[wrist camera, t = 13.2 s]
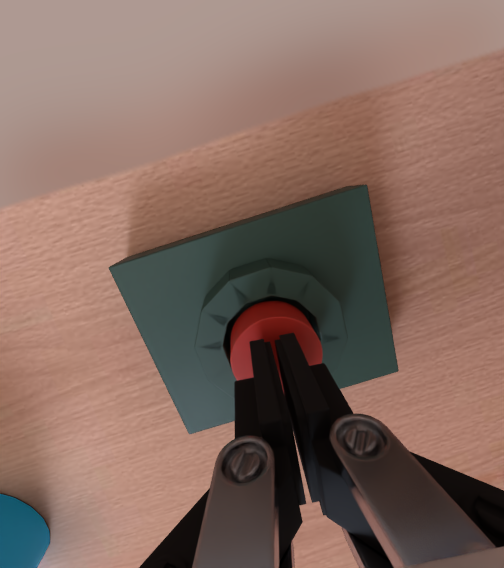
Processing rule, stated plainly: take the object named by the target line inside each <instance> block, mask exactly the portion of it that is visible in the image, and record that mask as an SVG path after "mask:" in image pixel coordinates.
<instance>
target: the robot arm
mask: <svg viewBox="0 0 504 568" xmlns="http://www.w3.org/2000/svg"><path fill="white" fill-rule="evenodd" d="M279 338H280V339H278V340H275V346H276V352H277V357H278V363H279V368H280V373H281V379H282V384H283V388H282V384H281V380H280V377H279V373H278V369H277V365H276V362H275V358H274V354H273V350H272V347H271V343H270V341H269V342H264V339H259V340H254V341H249V343H250V351H251V360H252V368H253V376H254V377H252V378H248V379H243V380H238V381H235V382H234V398H235V439H234V440H232V441H231V442H229V443H228V444H227V445H226V446H224V448H223V449H222V450H221V452H220V453H219V455H218V457H217V460H216V463H215V467H214V472H213V476H212V481H211V485H210V488H209V490H208V491H207V492H206V493H205V494H204V495H203V496H202V497H201V499H200V500H199V501H198V502H197V503H196V504H195V505H194V506H193V508H192V509H191V510H190V511H189V512H188V513H187V514H186V515H185V517H184V518H183V519H182V520H181V521H180V522H179V523H178V524H177V526H176V527H175V528H174V529H173V530H172V531H171V532H170V533H169V535H168V536H167V537H166V538H165V539H164V540H163V541H162V542H161V544H160V545H159V546H158V547H157V548H156V549H155V550H154V551H153V552H152V554H151V555H150V556H149V557H148V558H147V559H146V560H145V561H144V563H143V564H142V565H141V566H140V567H139V568H295V561H294V547H293V541H292V540H293V538H294V536H295V534H296V533H297V531H298V529H299V527H300V526H301V524H302V517H301V512H300V507H299V505H303V504H306V500H305V494H304V489H303V483H302V478H301V473H300V467H299V462H298V456H297V451H296V445H295V440H296V443H297V447H298V451H299V455H300V459H301V462H302V466H303V470H304V474H305V478H306V481H307V485H308V489H309V493H310V496H311V500H312V503H313V502H317V501H319V502H320V505H321V509H322V512H323V515H327V517H328V518H329V519H331V520H332V521H334V522H335V523H337V524H338V525H340V526H341V527H342V530H343V533H344V536H345V539H346V541H347V543H348V545H349V547H350V550H351V552H352V554H353V556H354V558H355V560H356V562H357V564H358V566H359V568H504V491H503V490H501V489H499V488H496V487H494V486H491V485H489V484H487V483H484V482H482V481H479V480H477V479H475V478H472V477H470V476H467V475H465V474H463V473H460V472H458V471H455V470H453V469H450V468H448V467H446V466H443V465H441V464H438V463H436V462H434V461H431V460H429V459H426V458H424V457H422V456H419V455H417V454H414V453H412V452H409V451H408V450H407V448H406V447H405V446H404V445H403V444H402V443H401V442H400V441H399V440H398V439H397V437H396V436H395V435H394V434H393V433H392V432H391V431H390V430H389V429H388V428H387V426H385V425H384V424H383V423H382V422H381V421H379V420H377V419H375V418H373V417H371V416H368V415H364V414H353V412H352V410H351V408H350V407H349V405H348V403H347V401H346V400H345V398H344V396H343V394H342V393H341V391H340V389H339V387H338V386H337V384H336V382H335V380H334V379H333V377H332V375H331V373H330V372H329V370H328V368H327V366H326V365H325V363H321V364H316V365H311V366H309V364H308V362H307V360H306V357H305V355H304V353H303V351H302V349H301V347H300V345H299V342H298V340H297V338H296V336H295V334H294V332H293V333H288V334H283V335H279ZM283 390H284V392H283ZM292 428H293V429H292ZM293 432H294V434H293ZM294 436H295V440H294Z"/></svg>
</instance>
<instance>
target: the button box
mask: <svg viewBox="0 0 504 568" xmlns="http://www.w3.org/2000/svg"><path fill="white" fill-rule="evenodd" d="M109 270H110V272H111V274H112V276H113V278H114V280H115V282H116V284H117V286H118V288H119V290H120V292H121V295H122V297H123V299H124V301H125V303H126V305H127V307H128V309H129V311H130V313H131V315H132V317H133V319H134V321H135V323H136V326H137V328H138V330H139V332H140V334H141V336H142V338H143V340H144V342H145V344H146V346H147V348H148V350H149V352H150V354H151V356H152V359H153V361H154V363H155V365H156V367H157V369H158V371H159V373H160V375H161V377H162V379H163V381H164V383H165V385H166V387H167V390H168V392H169V394H170V396H171V398H172V400H173V402H174V404H175V406H176V408H177V410H178V412H179V414H180V416H181V418H182V421H183V423H184V425H185V427H186V429H187V431H188V433H189V434H192V433H196V432H199V431H202V430H205V429H209V428H212V427H215V426H219V425H222V424H225V423H229V422H232V421H235V398H234V382H235V381H237V379H236V378H235V376H234V374H233V372H232V368H231V363H230V353H231V332H232V328H233V326H234V324H235V322H236V320H237V319H238V317H239V316H240V315H241V314H242V313H243V312H244V311H245V310H246V309H248V308H249V307H251V306H253V305H255V304H258V303H260V302H264V301H282V302H286V303H289V304H291V305H293V306H295V307H296V308H298V309H299V310H300V311H301V312H302V313H303V314H304V315H305V317H306V318H307V320H308V321H309V323H310V324H311V326H312V328H313V329H314V331H315V333H316V334H317V336H318V338H319V340H320V342H321V345H322V353H323V357H322V363H325V365H326V366H327V368H328V370H329V372H330V373H331V375H332V377H333V379H334V380H335V382H336V384H337V386H338V387H339V389H341V388H345V387H348V386H351V385H355V384H358V383H361V382H365V381H368V380H371V379H374V378H378V377H381V376H384V375H388V374H391V373H394V372H398V365H397V359H396V353H395V347H394V341H393V336H392V330H391V324H390V318H389V312H388V306H387V300H386V294H385V288H384V282H383V276H382V271H381V265H380V259H379V253H378V247H377V241H376V235H375V229H374V223H373V217H372V211H371V206H370V200H369V194H368V188H367V185H356V186H347V187H344V188H341V189H338V190H334V191H331V192H328V193H325V194H322V195H319V196H316V197H313V198H310V199H306V200H303V201H300V202H297V203H294V204H291V205H288V206H285V207H282V208H279V209H275V210H272V211H269V212H266V213H263V214H260V215H257V216H254V217H251V218H247V219H244V220H241V221H238V222H235V223H232V224H229V225H226V226H223V227H219V228H216V229H213V230H210V231H207V232H204V233H201V234H198V235H195V236H192V237H188V238H185V239H182V240H179V241H176V242H173V243H170V244H167V245H164V246H160V247H157V248H154V249H151V250H148V251H145V252H142V253H139V254H136V255H132V256H129V257H126V258H125V259H123V260H121V261H119V262H117V263H116V264H114V265H112V266H110V267H109Z"/></svg>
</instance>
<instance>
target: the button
mask: <svg viewBox="0 0 504 568" xmlns="http://www.w3.org/2000/svg"><path fill="white" fill-rule="evenodd" d="M293 332H294V334H295V336H296V338H297V340H298V342H299V345H300V347H301V349H302V351H303V353H304V355H305V357H306V360H307V362H308V364H309V366H311V365H316V364H321V363H322V357H323V353H322V345H321V342H320V340H319V338H318V336H317V334H316V333H315V331H314V329H313V328H312V326H311V324H310V323H309V321H308V320H307V318H306V317H305V315H304V314H303V313H302V312H301V311H300V310H299V309H298V308H296V307H295V306H293V305H291V304H289V303H286V302H282V301H264V302H260V303H258V304H255V305H253V306H251V307H249V308H248V309H246V310H245V311H244V312H243V313H242V314H241V315H240V316H239V317H238V319H237V320H236V322H235V324H234V326H233V328H232V332H231V353H230V363H231V368H232V372H233V374H234V376H235V378H236V379H237V381H238V380H243V379H248V378H252V377H254V376H253V368H252V360H251V351H250V343H249V341H254V340H259V339H264V342H269V341H270V343H271V347H272V350H273V354H274V358H275V362H276V365H277V369H278V373H279V377H280V380H281V384H282V379H281V373H280V368H279V363H278V357H277V352H276V346H275V340H278V339H280V338H279V335H283V334H288V333H293ZM282 388H283V384H282ZM283 392H284V390H283Z"/></svg>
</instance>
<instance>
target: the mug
mask: <svg viewBox="0 0 504 568" xmlns="http://www.w3.org/2000/svg"><path fill="white" fill-rule="evenodd" d="M49 544H50V531H49V529H48V527H47V525H46V523H45V521H44V519H43V518H42V517H41V516H40V515H39V514H38V513H37V512H36V511H35V510H34V509H33V508H32V507H31V506H29V505H27V504H25V503H23V502H21V501H20V500H18V499H16V498H14V497H10V496H7V495H3V494H0V568H37V567H38V565H39V563H40V561H41V559H42V557H43V556H44V554H45V552H46V550H47V548H48V546H49Z"/></svg>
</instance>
